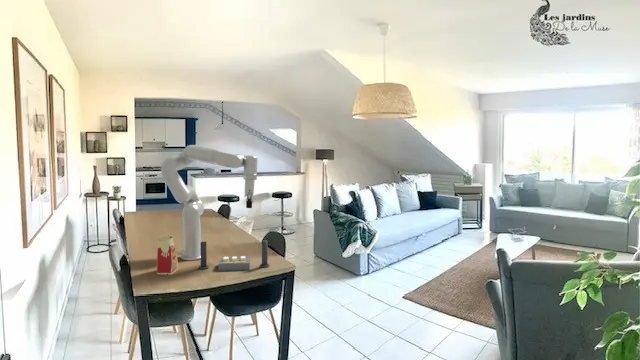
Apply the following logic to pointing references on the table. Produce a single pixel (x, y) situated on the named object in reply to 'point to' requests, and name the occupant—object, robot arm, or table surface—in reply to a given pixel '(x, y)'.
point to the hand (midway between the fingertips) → (249, 206)
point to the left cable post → (203, 256)
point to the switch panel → (234, 263)
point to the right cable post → (264, 254)
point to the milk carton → (166, 255)
